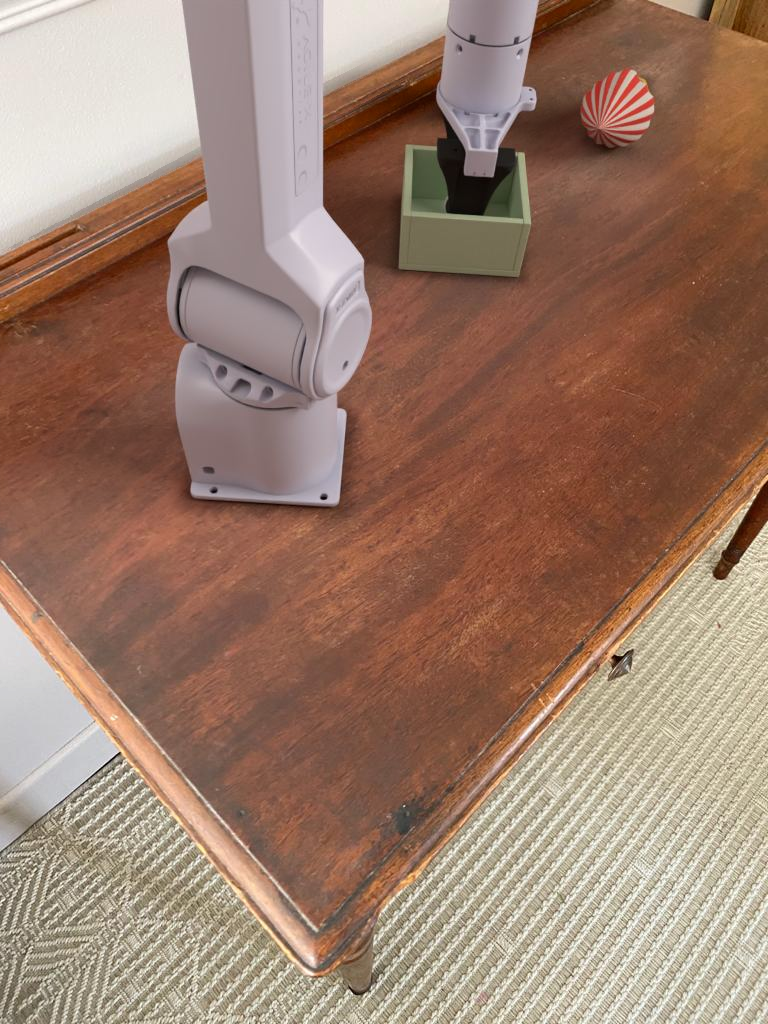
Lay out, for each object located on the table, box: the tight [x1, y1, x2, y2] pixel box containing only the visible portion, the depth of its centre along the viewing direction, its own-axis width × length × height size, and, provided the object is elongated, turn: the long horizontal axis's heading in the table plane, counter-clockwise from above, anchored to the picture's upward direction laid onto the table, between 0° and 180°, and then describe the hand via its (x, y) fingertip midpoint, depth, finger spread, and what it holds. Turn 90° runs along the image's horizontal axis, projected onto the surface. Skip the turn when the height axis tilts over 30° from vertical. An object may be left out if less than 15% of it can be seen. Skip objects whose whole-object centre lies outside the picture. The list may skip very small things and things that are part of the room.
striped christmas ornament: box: [580, 68, 655, 149], centre depth 75 cm, size 6×6×20 cm
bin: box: [398, 143, 532, 278], centre depth 65 cm, size 10×9×5 cm
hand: (462, 204), depth 64 cm, fingers closed on wristwatch, 5 cm apart
